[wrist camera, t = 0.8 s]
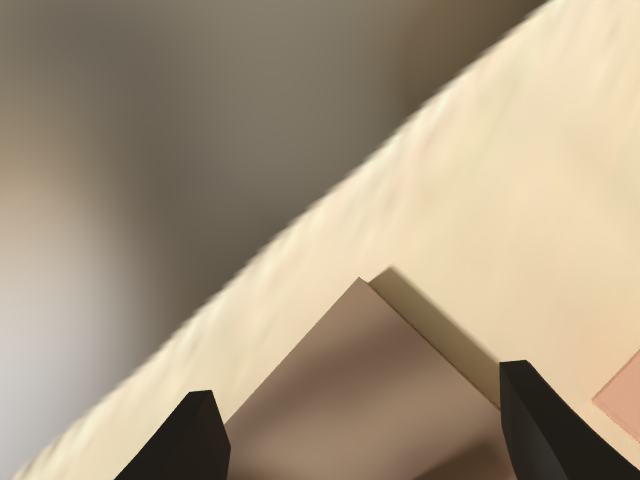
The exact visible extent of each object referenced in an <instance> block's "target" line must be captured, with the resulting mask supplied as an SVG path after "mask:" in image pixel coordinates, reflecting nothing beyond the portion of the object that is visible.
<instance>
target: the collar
mask: <svg viewBox="0 0 640 480" xmlns="http://www.w3.org/2000/svg"><path fill="white" fill-rule="evenodd" d="M591 402H592V403H593V404H595V405H596V406H597V407H598V408H599V409H600V410H602V411H603V412H604V413H605V414H606V415H607V416H609V417H610V418H611V419H612V420H613V421H614V422H616V423H617V424H618V425H619V426H620V427H621V428H623V429H624V430H625V431H626V432H627V433H629V434H630V435H631V436H632V437H633V438H634V439H636V440H637V441H638V442H639V443H640V350H639V351H638V352H637V353H636V354H635V355H634V356H633V357H632V358H631V359H630V360H629V361H628V362H627V363H626V364H625V365H624V366H623V367H622V368H621V369H620V370H619V372H618V373H617V374H616V375H615V376H614V377H613V378H612V379H611V380H610V381H609V382H608V383H607V384H606V385H605V386H604V387H603V388H602V389H601V390H600V391H599V392H598V393H597V394H596V395H595V397H594V398H593V399H592V400H591Z"/></svg>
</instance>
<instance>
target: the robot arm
mask: <svg viewBox="0 0 640 480" xmlns="http://www.w3.org/2000/svg"><path fill="white" fill-rule="evenodd" d="M499 366H500V401H501V426H502V430H503V434H504V438H505V442H506V446H507V449H508V453H509V457H510V460H511V464H512V467H513V470H514V473H515V475H516V478H517V480H640V470H638V469H637V468H636V467H635V466H633V465H632V464H631V463H630V462H629V461H627V460H626V459H625V458H624V457H623V456H622V455H620V454H619V453H618V452H617V451H616V450H615V449H614V448H613V447H611V446H610V445H609V444H608V443H607V442H606V441H605V440H603V439H602V438H601V437H600V436H599V435H598V434H597V433H596V432H595V431H594V430H593V429H592V428H591V427H590V426H589V425H588V424H587V423H586V422H585V421H584V420H582V419H581V418H580V417H579V416H578V415H577V414H576V413H575V412H574V411H573V410H572V409H571V408H570V407H569V406H568V405H567V404H566V403H565V401H564V400H563V399H562V398H561V397H560V396H559V395H558V394H557V393H556V392H555V391H554V390H553V389H552V388H551V386H550V385H549V384H548V383H547V382H546V381H545V380H544V379H543V378H542V376H541V375H540V374H539V373H538V372H537V371H536V369H535V368H534V367H533V366H532V365H531V363H529V362H528V361H527V360H519V361H508V362H499ZM230 452H231V445H230V442H229V439H228V436H227V433H226V430H225V427H224V424H223V422H222V419H221V416H220V413H219V410H218V407H217V404H216V401H215V398H214V395H213V392H212V390H205V391H194V392H189V393H188V394H187V395H186V396H185V397H184V399H183V400H182V401H181V402H180V403H179V405H178V406H177V407H176V408H175V409H174V411H173V412H172V413H171V414H170V416H169V417H168V418H167V419H166V420H165V422H164V423H163V424H162V425H161V426H160V428H159V429H158V430H157V431H156V433H155V434H154V435H153V436H152V437H151V438H150V440H149V441H148V442H147V443H146V444H145V445H144V447H143V448H142V449H141V450H140V451H139V453H138V454H137V455H136V456H135V457H134V458H133V459H132V460H131V462H130V463H129V464H128V465H127V466H126V467H125V468H124V469H123V470H122V471H121V472H120V473H119V475H118V476H117V477H116V478H115V479H114V480H227V474H228V468H229V460H230Z"/></svg>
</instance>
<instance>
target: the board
mask: <svg viewBox="0 0 640 480" xmlns="http://www.w3.org/2000/svg"><path fill="white" fill-rule="evenodd" d="M224 427H225V430H226V433H227V436H228V439H229V442H230V445H231V452H230V460H229V468H228V474H227V480H517V478H516V475H515V473H514V470H513V467H512V464H511V460H510V457H509V453H508V449H507V446H506V442H505V438H504V434H503V430H502V426H501V410H500V409H499V408H498V407H497V406H496V405H495V404H494V403H493V402H492V401H491V400H490V399H488V398H487V397H486V396H485V395H484V394H483V393H482V392H481V391H480V390H479V389H478V388H477V387H476V386H475V385H474V384H473V383H472V382H471V381H470V380H469V379H468V378H466V377H465V376H464V375H463V374H462V373H461V372H460V371H459V370H458V369H457V368H456V367H455V366H454V365H453V364H452V363H451V362H450V361H449V360H448V359H447V358H446V357H444V356H443V355H442V354H441V353H440V352H439V351H438V350H437V349H436V348H435V347H434V346H433V345H432V344H431V343H430V342H429V341H428V340H427V339H426V338H425V337H424V336H422V335H421V334H420V333H419V332H418V331H417V330H416V329H415V328H414V327H413V326H412V325H411V324H410V323H409V322H408V321H407V320H406V319H405V318H404V317H403V316H402V315H400V314H399V313H398V312H397V311H396V310H395V309H394V308H393V307H392V306H391V305H390V304H389V303H388V302H387V301H386V300H385V299H384V298H383V297H382V296H381V295H380V294H378V293H377V292H376V291H375V290H374V289H373V288H372V287H371V286H370V285H369V284H368V283H367V282H365V281H364V280H362V279H361V278H360V277H358V278H357V279H356V281H355V282H354V283H353V284H352V285H351V286H350V287H349V288H348V289H347V290H346V292H345V293H344V294H343V295H342V296H341V297H340V298H339V299H338V300H337V301H336V303H335V304H334V305H333V306H332V307H331V308H330V309H329V310H328V311H327V312H326V314H325V315H324V316H323V317H322V318H321V319H320V320H319V321H318V322H317V323H316V325H315V326H314V327H313V328H312V329H311V330H310V331H309V332H308V333H307V334H306V335H305V337H304V338H303V339H302V340H301V341H300V342H299V343H298V344H297V345H296V346H295V348H294V349H293V350H292V351H291V352H290V353H289V354H288V355H287V356H286V357H285V359H284V360H283V361H282V362H281V363H280V364H279V365H278V366H277V367H276V368H275V370H274V371H273V372H272V373H271V374H270V375H269V376H268V377H267V378H266V379H265V380H264V382H263V383H262V384H261V385H260V386H259V387H258V388H257V389H256V390H255V391H254V393H253V394H252V395H251V396H250V397H249V398H248V399H247V400H246V401H245V402H244V404H243V405H242V406H241V407H240V408H239V409H238V410H237V411H236V412H235V413H234V415H233V416H232V417H231V418H230V419H229V420H228V421H227V422H226V423H225V424H224Z"/></svg>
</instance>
